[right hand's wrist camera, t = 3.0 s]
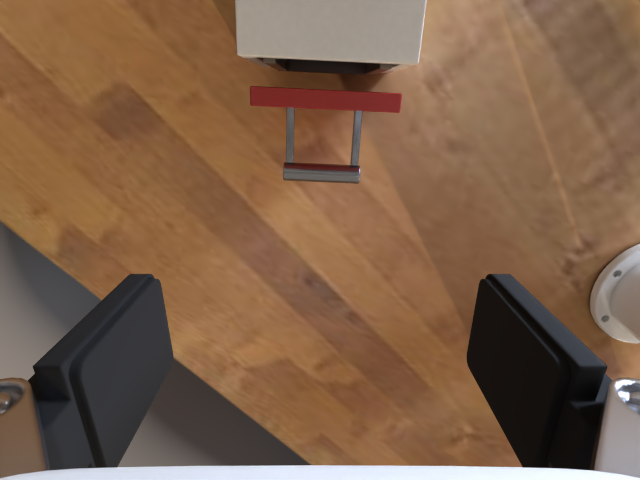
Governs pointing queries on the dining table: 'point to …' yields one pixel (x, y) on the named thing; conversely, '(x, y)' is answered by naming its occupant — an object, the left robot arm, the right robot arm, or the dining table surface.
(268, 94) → the drawer
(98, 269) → the dining table surface
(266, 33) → the cabinet
